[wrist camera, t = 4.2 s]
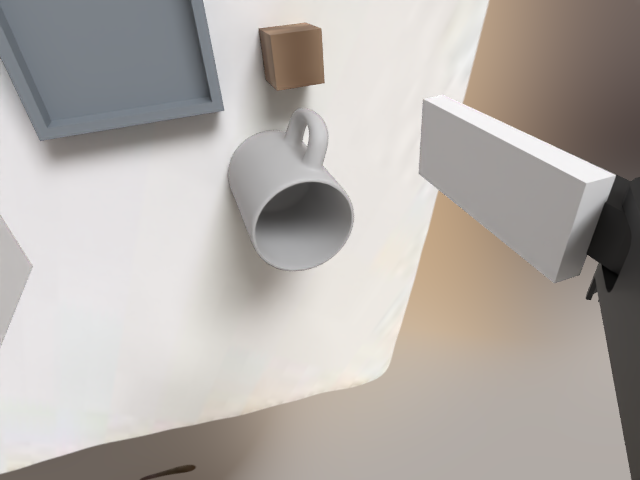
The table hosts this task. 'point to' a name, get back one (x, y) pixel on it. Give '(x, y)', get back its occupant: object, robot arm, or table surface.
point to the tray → (108, 62)
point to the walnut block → (292, 55)
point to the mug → (291, 195)
